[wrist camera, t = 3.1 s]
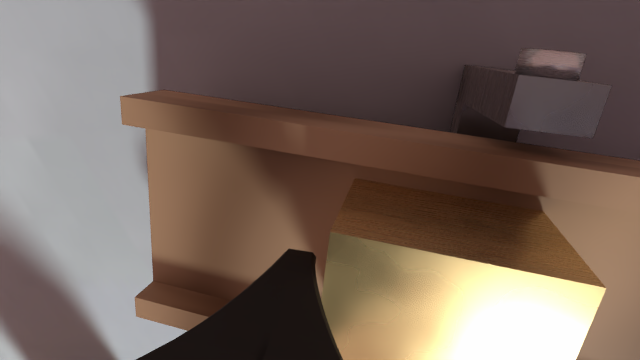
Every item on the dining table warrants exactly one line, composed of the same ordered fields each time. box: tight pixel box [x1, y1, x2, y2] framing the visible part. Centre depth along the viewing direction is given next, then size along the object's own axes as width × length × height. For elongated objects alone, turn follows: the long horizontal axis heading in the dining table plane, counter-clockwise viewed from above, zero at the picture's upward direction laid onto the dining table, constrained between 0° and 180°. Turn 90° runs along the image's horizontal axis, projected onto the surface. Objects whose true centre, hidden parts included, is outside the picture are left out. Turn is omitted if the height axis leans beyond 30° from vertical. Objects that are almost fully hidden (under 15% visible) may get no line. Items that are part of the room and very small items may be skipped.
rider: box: [321, 178, 606, 360], centre depth 10 cm, size 5×5×4 cm
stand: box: [450, 48, 612, 142], centre depth 13 cm, size 2×12×5 cm, turn 174°
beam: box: [120, 90, 640, 360], centre depth 11 cm, size 22×8×2 cm, turn 84°
